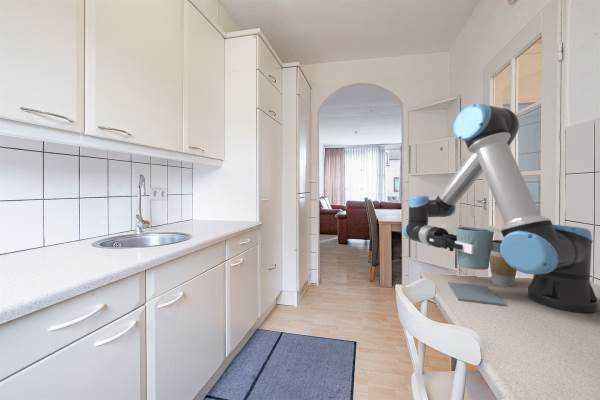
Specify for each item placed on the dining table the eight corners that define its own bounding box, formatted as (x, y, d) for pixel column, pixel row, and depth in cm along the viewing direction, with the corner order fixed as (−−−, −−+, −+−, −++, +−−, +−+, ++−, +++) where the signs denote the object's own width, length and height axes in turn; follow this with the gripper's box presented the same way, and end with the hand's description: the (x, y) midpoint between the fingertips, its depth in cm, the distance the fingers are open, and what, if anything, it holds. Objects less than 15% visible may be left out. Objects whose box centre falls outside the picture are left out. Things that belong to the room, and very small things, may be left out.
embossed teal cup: (448, 263, 90) (449, 227, 89) (467, 260, 94) (468, 226, 94) (480, 272, 81) (481, 232, 80) (499, 268, 85) (500, 230, 85)
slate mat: (486, 287, 93) (486, 285, 93) (505, 306, 78) (505, 303, 78) (447, 283, 97) (447, 281, 97) (458, 300, 82) (458, 298, 82)
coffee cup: (527, 286, 94) (528, 244, 94) (506, 289, 92) (507, 245, 91) (499, 278, 104) (500, 239, 103) (479, 280, 101) (480, 240, 100)
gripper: (457, 244, 107) (514, 259, 86) (408, 247, 102) (455, 262, 81) (458, 226, 107) (515, 235, 85) (409, 227, 102) (456, 237, 80)
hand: (486, 248), depth 83 cm, fingers closed on embossed teal cup, 9 cm apart
